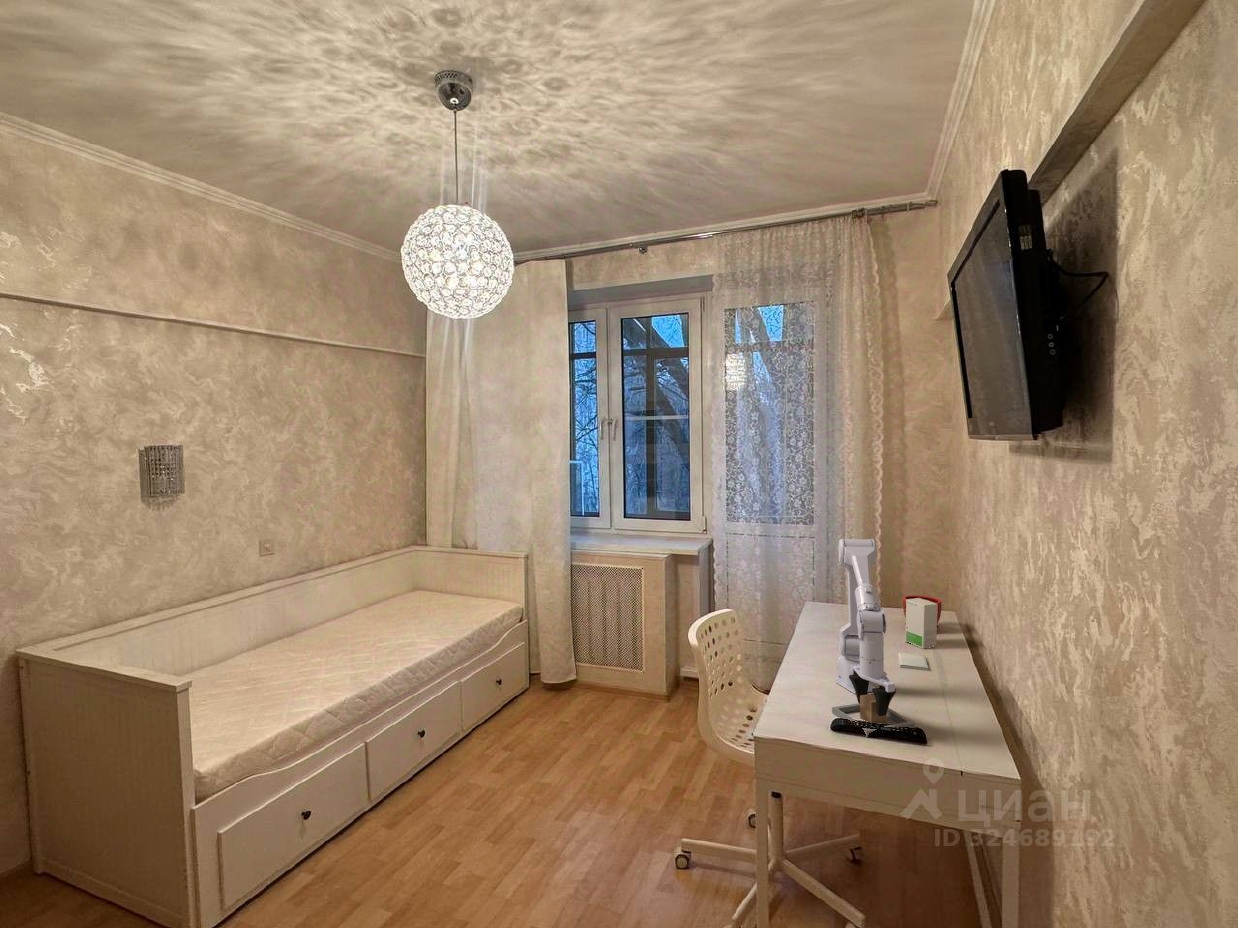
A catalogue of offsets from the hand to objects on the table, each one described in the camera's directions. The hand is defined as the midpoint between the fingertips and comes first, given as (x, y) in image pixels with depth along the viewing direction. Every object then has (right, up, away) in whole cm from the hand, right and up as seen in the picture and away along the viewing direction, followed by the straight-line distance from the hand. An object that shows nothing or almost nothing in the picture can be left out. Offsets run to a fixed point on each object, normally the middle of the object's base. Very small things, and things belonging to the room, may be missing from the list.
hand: (871, 708), depth 155 cm
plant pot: (+50, 0, +74) cm, 89 cm away
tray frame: (0, -3, 0) cm, 3 cm away
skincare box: (+42, -1, +57) cm, 71 cm away
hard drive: (+30, -2, +40) cm, 50 cm away
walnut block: (0, -3, 0) cm, 3 cm away
